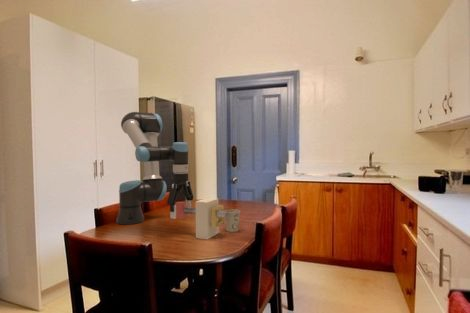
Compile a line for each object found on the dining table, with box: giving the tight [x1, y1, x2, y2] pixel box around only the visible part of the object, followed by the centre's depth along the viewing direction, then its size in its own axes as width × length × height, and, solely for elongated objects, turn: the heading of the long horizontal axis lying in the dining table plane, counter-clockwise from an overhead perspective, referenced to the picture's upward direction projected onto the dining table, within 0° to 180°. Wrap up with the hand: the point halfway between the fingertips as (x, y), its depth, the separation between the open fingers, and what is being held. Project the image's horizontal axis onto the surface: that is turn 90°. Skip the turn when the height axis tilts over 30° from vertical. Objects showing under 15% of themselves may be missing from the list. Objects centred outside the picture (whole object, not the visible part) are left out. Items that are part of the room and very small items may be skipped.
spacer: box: [211, 204, 225, 228], centre depth 139 cm, size 2×9×9 cm, turn 157°
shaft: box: [175, 201, 227, 220], centre depth 143 cm, size 27×3×8 cm, turn 67°
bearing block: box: [195, 197, 220, 240], centre depth 141 cm, size 6×12×17 cm, turn 157°
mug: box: [224, 208, 241, 233], centre depth 152 cm, size 8×13×10 cm, turn 27°
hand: (181, 215), depth 147 cm, fingers open, 13 cm apart
